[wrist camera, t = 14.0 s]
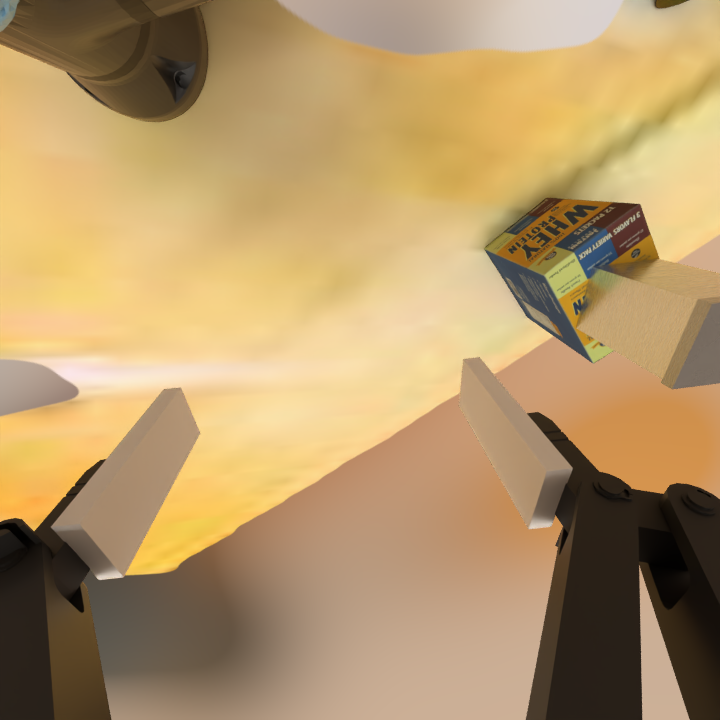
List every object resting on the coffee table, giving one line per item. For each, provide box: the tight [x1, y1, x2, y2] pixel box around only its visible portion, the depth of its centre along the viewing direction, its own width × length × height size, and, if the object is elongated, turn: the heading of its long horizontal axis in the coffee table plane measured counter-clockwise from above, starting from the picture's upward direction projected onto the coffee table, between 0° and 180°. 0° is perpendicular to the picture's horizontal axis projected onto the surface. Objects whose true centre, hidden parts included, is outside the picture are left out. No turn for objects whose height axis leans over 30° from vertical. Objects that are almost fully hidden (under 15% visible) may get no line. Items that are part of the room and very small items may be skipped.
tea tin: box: [576, 259, 720, 389], centre depth 29 cm, size 7×7×12 cm
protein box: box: [485, 198, 659, 363], centre depth 41 cm, size 10×15×16 cm
